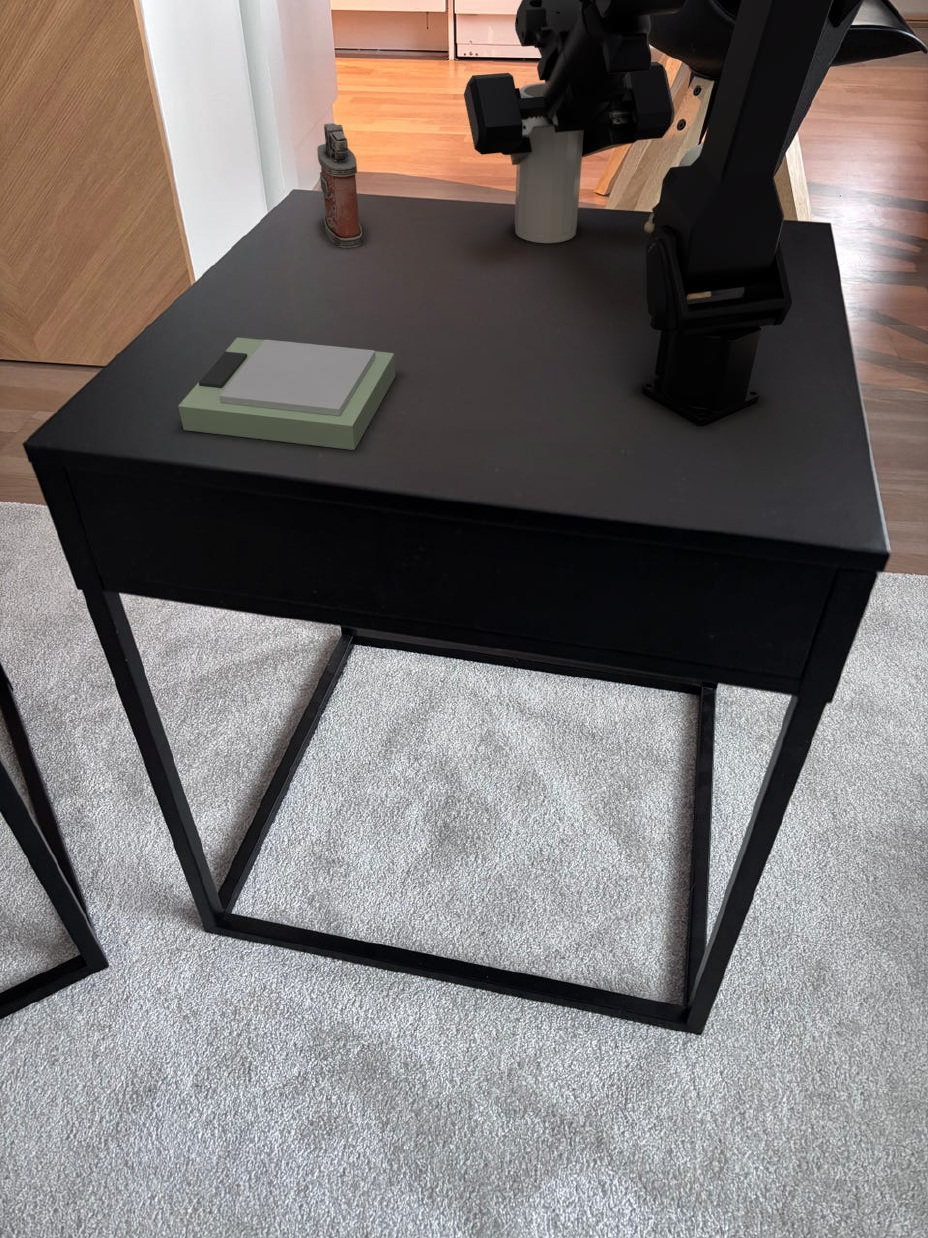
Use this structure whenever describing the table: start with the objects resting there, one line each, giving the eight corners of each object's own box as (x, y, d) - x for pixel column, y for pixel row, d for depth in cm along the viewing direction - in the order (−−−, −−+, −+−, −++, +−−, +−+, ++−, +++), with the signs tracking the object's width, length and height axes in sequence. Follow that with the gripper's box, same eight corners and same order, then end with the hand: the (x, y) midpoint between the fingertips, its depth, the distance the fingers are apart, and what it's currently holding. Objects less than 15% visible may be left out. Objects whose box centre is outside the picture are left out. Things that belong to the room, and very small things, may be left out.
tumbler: (588, 234, 96) (601, 92, 88) (541, 248, 94) (548, 103, 85) (549, 216, 100) (557, 78, 91) (502, 229, 97) (506, 88, 89)
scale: (395, 376, 74) (393, 345, 73) (354, 450, 66) (351, 417, 65) (241, 360, 76) (235, 329, 75) (183, 430, 69) (176, 398, 67)
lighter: (319, 221, 99) (308, 116, 92) (351, 217, 100) (342, 113, 93) (335, 249, 94) (324, 140, 87) (368, 245, 94) (360, 137, 88)
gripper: (680, -45, 80) (616, 71, 95) (469, -34, 76) (438, 85, 92) (706, 82, 80) (638, 178, 95) (496, 99, 76) (460, 196, 91)
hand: (545, 156), depth 93 cm, fingers closed on tumbler, 6 cm apart
